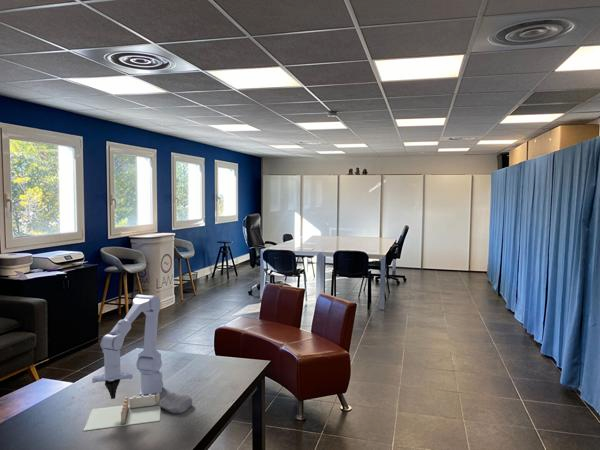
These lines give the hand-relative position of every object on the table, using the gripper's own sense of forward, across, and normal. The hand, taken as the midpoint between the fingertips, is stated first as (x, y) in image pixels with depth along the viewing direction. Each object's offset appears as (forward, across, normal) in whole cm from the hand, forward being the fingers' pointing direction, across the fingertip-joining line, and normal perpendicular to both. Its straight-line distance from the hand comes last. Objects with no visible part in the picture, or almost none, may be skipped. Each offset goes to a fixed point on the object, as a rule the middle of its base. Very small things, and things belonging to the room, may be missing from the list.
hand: (113, 397), depth 169 cm
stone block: (+8, +23, 0) cm, 24 cm away
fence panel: (+7, +4, -3) cm, 9 cm away
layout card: (+7, +4, -1) cm, 9 cm away
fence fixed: (+7, +11, +4) cm, 14 cm away
